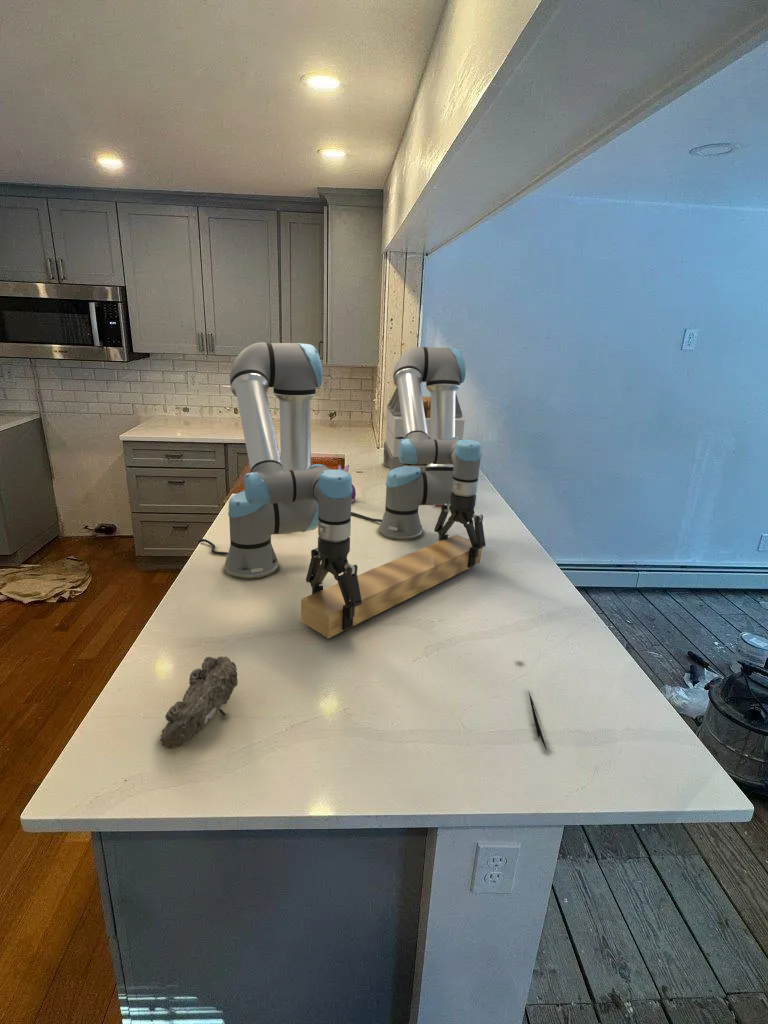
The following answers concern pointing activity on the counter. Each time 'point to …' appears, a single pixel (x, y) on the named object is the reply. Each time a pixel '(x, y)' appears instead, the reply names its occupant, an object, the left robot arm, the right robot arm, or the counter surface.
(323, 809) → the counter surface
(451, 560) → the thick board
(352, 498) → the figurine
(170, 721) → the fossil
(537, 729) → the feather
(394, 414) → the transformer
